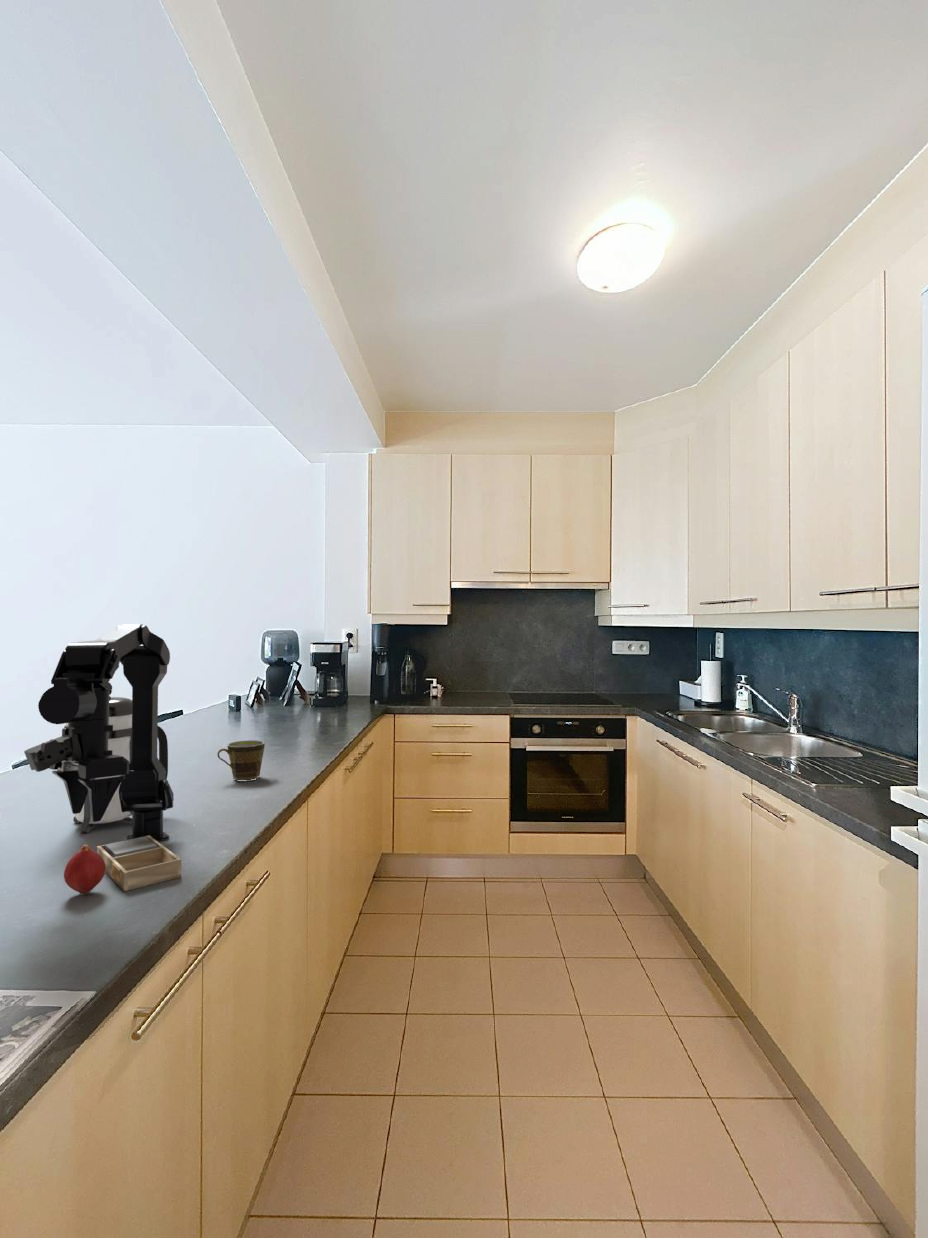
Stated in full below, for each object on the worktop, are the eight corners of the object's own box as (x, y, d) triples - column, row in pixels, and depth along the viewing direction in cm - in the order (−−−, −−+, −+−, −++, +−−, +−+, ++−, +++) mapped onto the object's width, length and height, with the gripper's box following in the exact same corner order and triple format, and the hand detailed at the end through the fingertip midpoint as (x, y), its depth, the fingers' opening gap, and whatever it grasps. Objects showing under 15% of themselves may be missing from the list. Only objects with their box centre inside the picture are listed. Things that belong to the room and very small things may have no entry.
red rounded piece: (59, 894, 106) (59, 844, 106) (99, 884, 110) (99, 836, 110) (69, 905, 102) (69, 853, 102) (110, 894, 106) (110, 844, 106)
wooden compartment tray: (95, 863, 120) (95, 845, 120) (149, 851, 126) (149, 833, 126) (123, 891, 107) (123, 871, 107) (181, 876, 113) (181, 857, 113)
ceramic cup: (256, 773, 191) (256, 739, 191) (270, 779, 184) (270, 743, 184) (211, 780, 183) (211, 744, 183) (224, 787, 175) (224, 749, 175)
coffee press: (116, 836, 135) (115, 690, 135) (49, 832, 138) (49, 689, 138) (170, 812, 152) (169, 682, 152) (109, 809, 155) (109, 682, 155)
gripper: (14, 720, 107) (11, 818, 106) (50, 725, 95) (47, 836, 93) (89, 716, 115) (86, 806, 114) (131, 720, 103) (129, 822, 102)
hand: (86, 817), depth 106 cm, fingers open, 9 cm apart
